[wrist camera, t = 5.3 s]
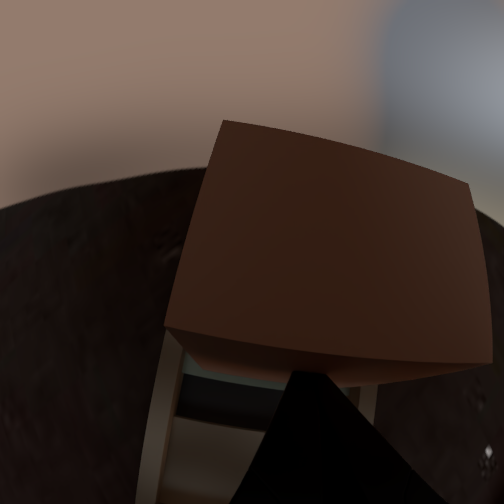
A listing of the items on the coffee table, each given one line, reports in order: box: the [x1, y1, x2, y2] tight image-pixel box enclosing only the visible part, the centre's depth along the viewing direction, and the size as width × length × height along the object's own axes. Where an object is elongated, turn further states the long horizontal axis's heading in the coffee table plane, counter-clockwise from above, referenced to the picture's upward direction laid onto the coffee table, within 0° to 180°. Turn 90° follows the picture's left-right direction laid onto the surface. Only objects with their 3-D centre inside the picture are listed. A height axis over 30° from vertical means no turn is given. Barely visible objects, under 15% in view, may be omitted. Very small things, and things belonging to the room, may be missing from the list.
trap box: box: [135, 329, 378, 504], centre depth 12 cm, size 14×9×2 cm, turn 171°
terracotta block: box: [164, 120, 493, 388], centre depth 9 cm, size 4×6×9 cm
